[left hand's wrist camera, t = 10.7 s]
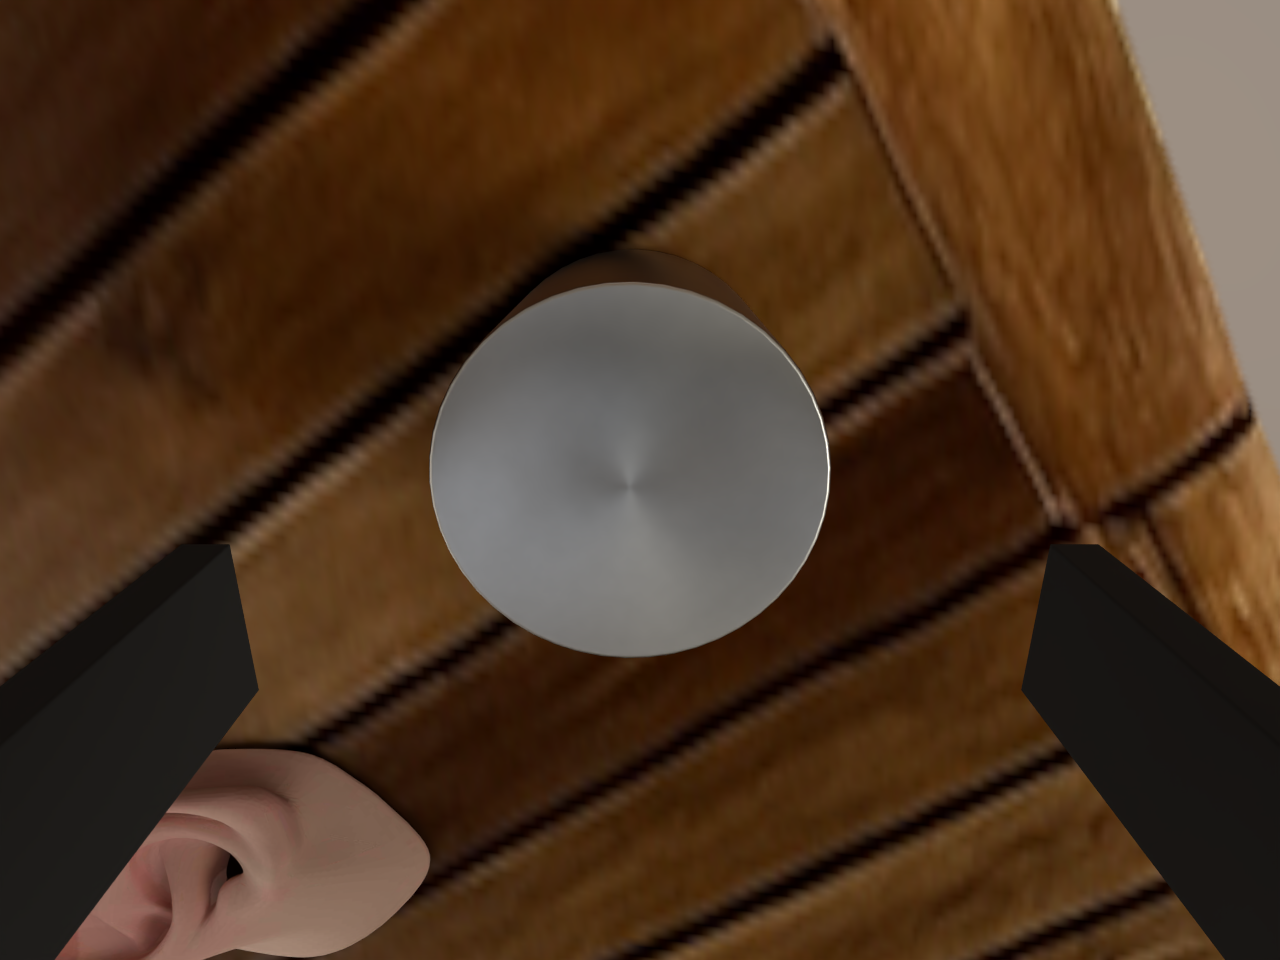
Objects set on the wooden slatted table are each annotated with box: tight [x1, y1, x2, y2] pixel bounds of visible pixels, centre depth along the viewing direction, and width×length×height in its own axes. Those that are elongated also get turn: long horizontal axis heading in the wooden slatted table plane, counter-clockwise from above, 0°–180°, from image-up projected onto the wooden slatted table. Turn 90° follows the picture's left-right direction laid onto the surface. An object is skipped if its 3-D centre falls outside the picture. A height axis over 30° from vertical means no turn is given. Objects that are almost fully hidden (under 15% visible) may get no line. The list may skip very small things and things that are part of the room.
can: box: [429, 249, 831, 658], centre depth 21 cm, size 9×9×8 cm
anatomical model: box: [55, 749, 430, 960], centre depth 30 cm, size 13×4×12 cm
